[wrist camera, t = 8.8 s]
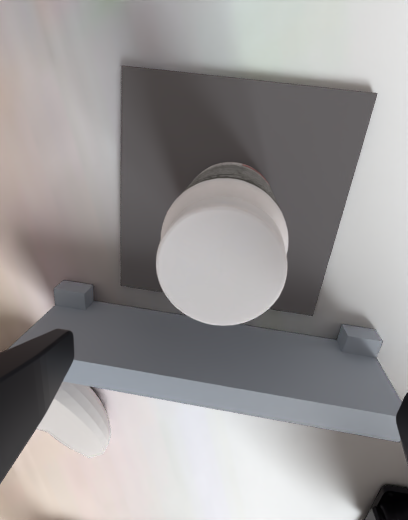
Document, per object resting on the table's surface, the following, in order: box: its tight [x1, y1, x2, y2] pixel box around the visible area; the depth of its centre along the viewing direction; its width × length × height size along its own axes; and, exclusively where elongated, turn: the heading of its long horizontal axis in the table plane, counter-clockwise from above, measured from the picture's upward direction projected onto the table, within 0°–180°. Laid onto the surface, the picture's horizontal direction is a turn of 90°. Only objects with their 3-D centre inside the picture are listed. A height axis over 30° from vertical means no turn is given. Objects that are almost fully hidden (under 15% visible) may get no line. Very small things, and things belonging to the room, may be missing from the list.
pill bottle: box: [156, 162, 288, 326], centre depth 13 cm, size 5×5×8 cm
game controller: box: [37, 382, 111, 458], centre depth 24 cm, size 14×4×10 cm
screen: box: [9, 280, 402, 442], centre depth 18 cm, size 20×4×6 cm, turn 84°
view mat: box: [121, 66, 377, 316], centre depth 17 cm, size 12×12×1 cm
